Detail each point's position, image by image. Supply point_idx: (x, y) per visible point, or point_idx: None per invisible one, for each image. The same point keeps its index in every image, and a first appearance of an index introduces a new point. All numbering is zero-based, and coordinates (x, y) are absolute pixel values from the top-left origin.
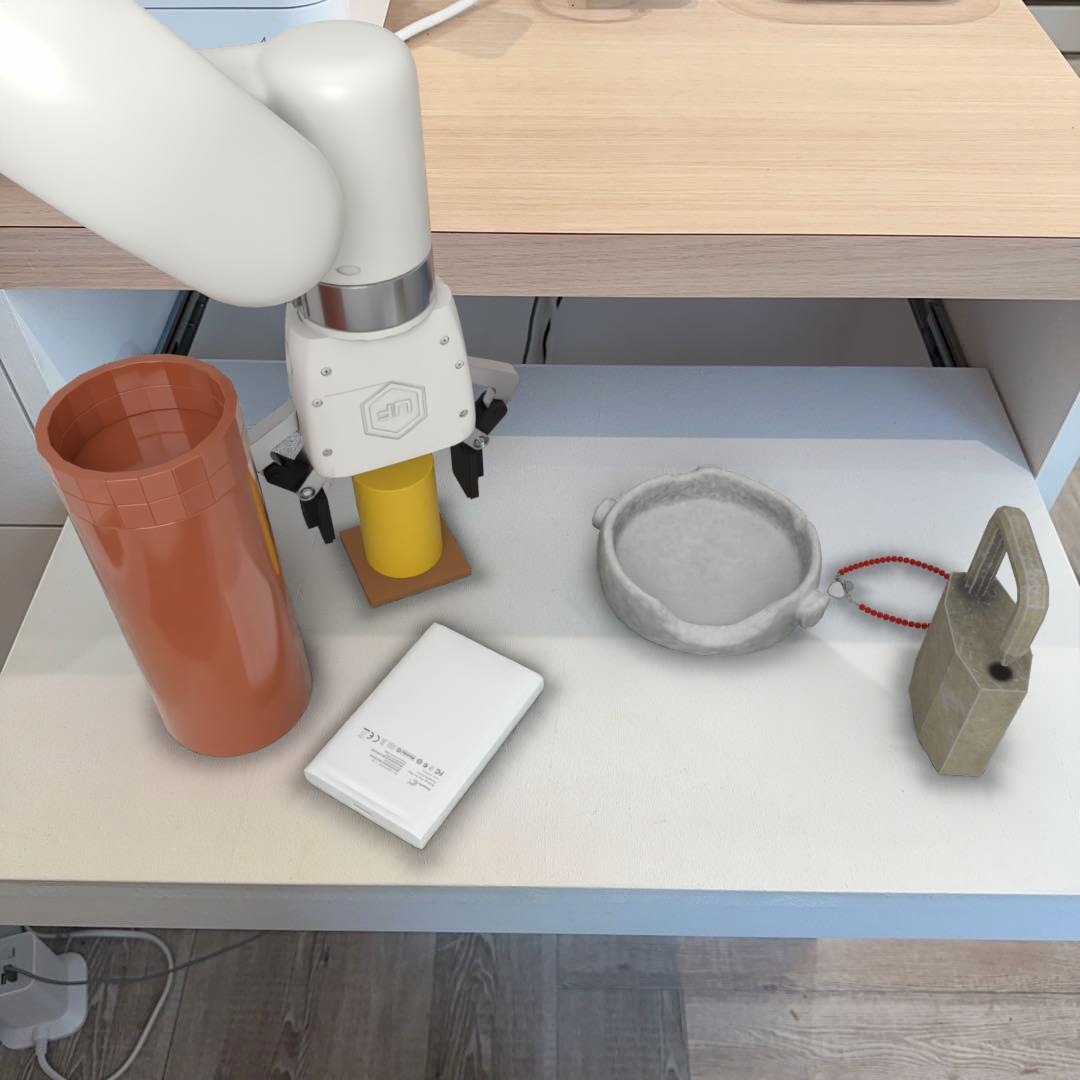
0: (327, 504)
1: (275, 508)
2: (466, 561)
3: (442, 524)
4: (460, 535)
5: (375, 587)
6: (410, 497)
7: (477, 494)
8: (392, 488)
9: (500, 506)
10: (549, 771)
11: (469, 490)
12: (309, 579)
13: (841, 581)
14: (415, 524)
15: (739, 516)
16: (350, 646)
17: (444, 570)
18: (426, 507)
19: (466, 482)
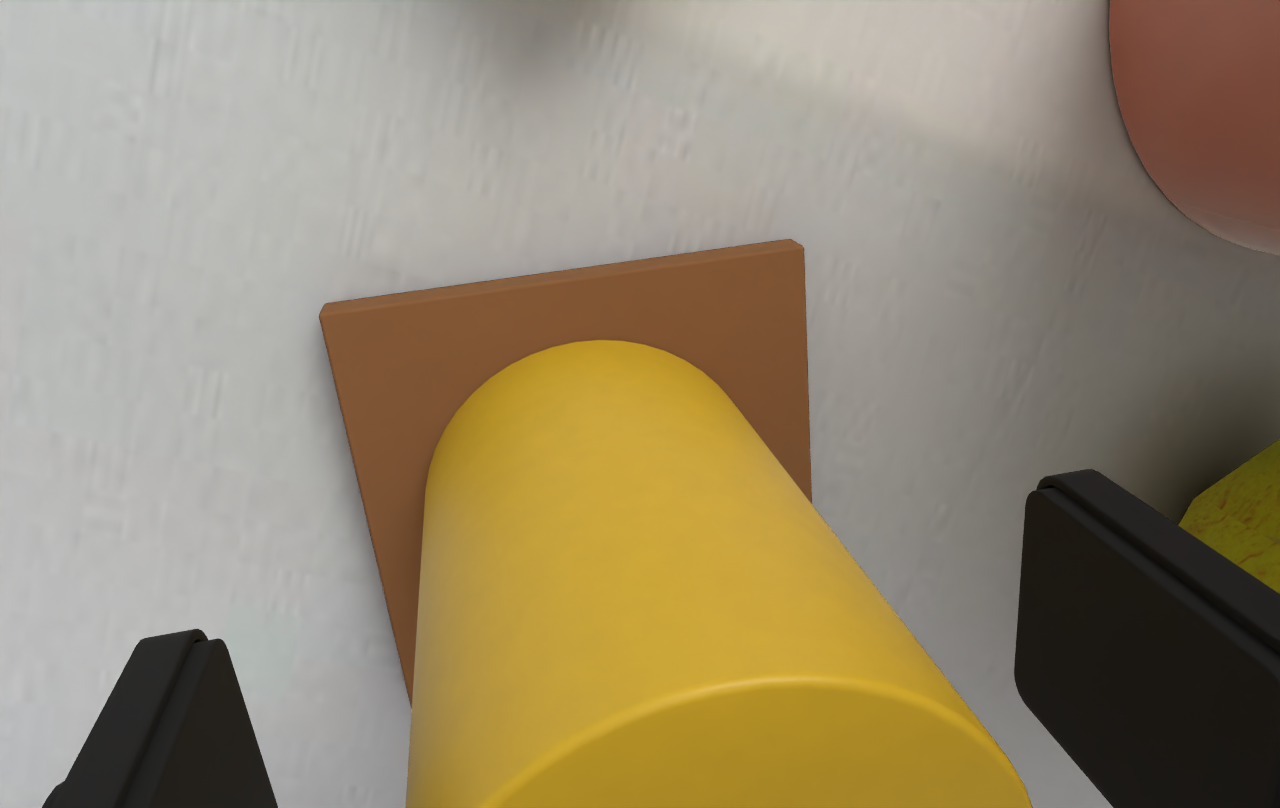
0: (1256, 648)
1: None
2: (332, 366)
3: (402, 598)
4: (333, 538)
5: (761, 325)
6: (658, 621)
7: (144, 649)
8: (821, 704)
9: (120, 659)
10: None
11: (187, 677)
12: (962, 451)
13: None
14: (599, 485)
15: None
16: (926, 58)
17: (447, 338)
18: (517, 572)
19: (188, 734)
